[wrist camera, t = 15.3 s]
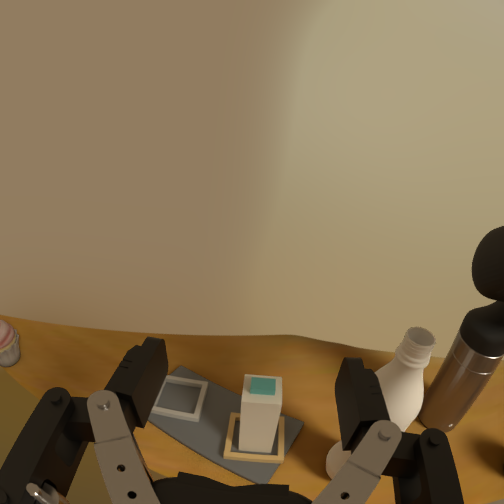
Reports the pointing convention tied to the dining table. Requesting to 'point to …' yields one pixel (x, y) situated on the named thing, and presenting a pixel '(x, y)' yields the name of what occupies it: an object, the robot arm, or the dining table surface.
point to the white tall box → (259, 412)
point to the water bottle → (397, 387)
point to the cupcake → (8, 345)
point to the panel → (216, 425)
